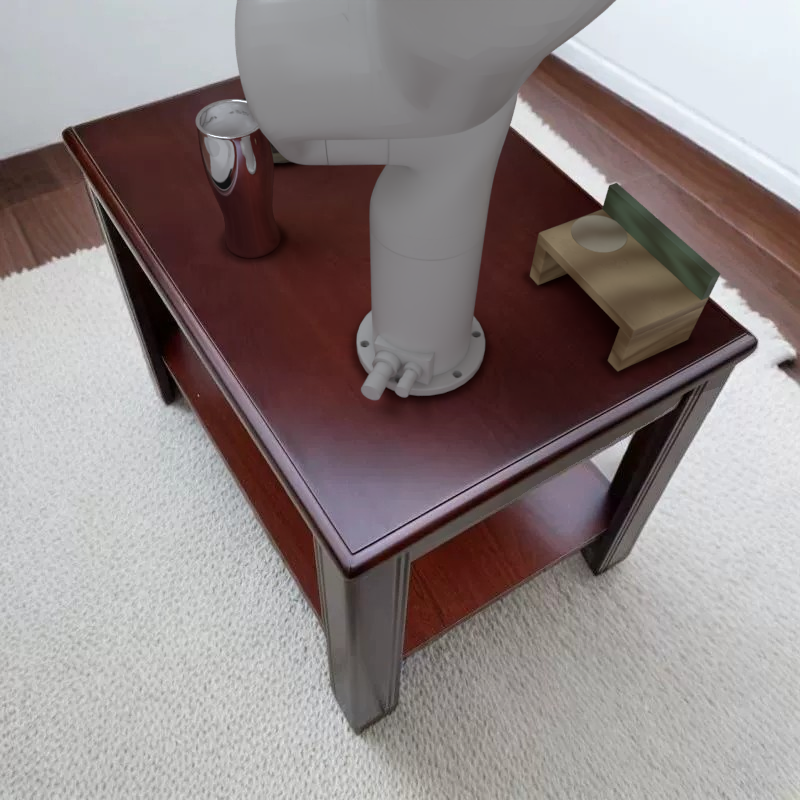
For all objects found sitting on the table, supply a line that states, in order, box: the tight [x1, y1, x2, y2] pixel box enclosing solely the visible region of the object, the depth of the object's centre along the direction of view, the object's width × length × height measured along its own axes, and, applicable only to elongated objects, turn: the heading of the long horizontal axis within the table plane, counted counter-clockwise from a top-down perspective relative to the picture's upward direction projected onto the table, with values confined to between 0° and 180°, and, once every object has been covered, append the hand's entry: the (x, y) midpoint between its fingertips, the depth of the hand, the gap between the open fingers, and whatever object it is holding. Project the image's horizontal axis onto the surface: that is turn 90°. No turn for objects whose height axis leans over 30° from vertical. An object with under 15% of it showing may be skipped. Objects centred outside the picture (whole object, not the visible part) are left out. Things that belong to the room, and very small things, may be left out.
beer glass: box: [195, 98, 281, 259], centre depth 75 cm, size 7×7×15 cm
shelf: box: [529, 182, 721, 372], centre depth 72 cm, size 15×9×9 cm, turn 28°
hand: (413, 3), depth 70 cm, fingers closed on rook chess piece, 3 cm apart
